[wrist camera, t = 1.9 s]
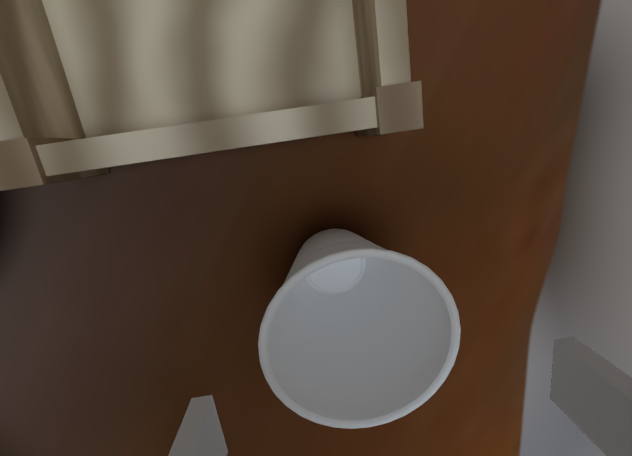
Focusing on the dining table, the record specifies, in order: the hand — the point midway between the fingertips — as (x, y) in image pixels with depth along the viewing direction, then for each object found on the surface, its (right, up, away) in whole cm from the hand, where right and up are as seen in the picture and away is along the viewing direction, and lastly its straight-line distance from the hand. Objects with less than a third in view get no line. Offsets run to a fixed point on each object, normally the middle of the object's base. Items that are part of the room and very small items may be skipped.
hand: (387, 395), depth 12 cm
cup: (-1, +4, +14) cm, 14 cm away
